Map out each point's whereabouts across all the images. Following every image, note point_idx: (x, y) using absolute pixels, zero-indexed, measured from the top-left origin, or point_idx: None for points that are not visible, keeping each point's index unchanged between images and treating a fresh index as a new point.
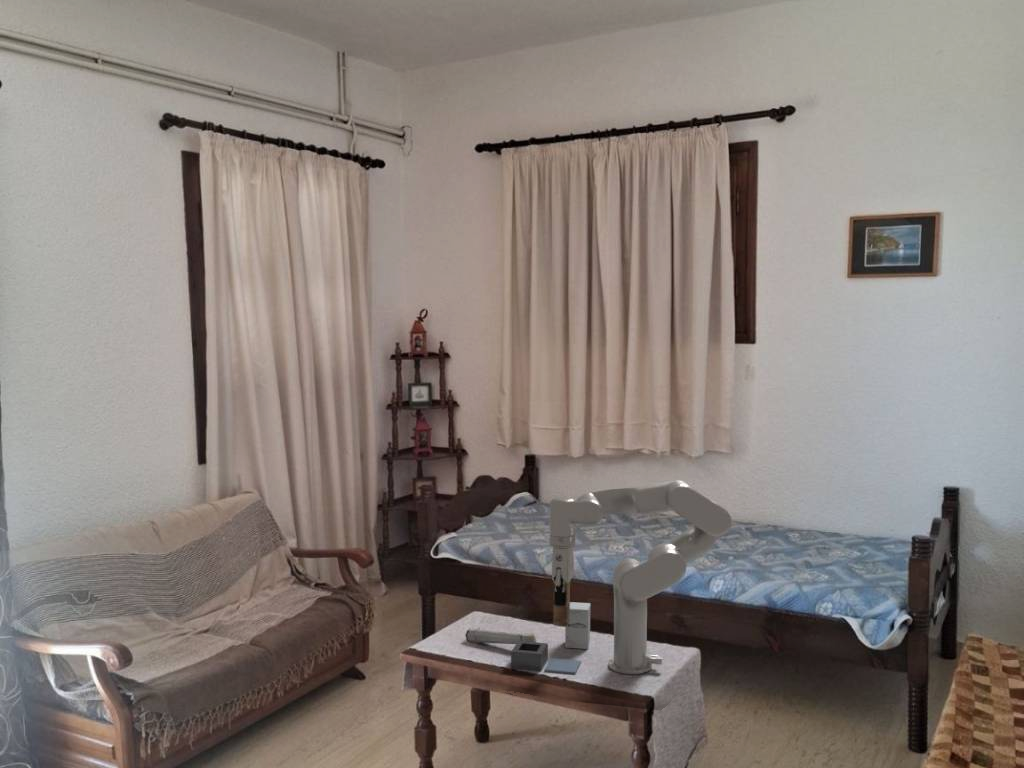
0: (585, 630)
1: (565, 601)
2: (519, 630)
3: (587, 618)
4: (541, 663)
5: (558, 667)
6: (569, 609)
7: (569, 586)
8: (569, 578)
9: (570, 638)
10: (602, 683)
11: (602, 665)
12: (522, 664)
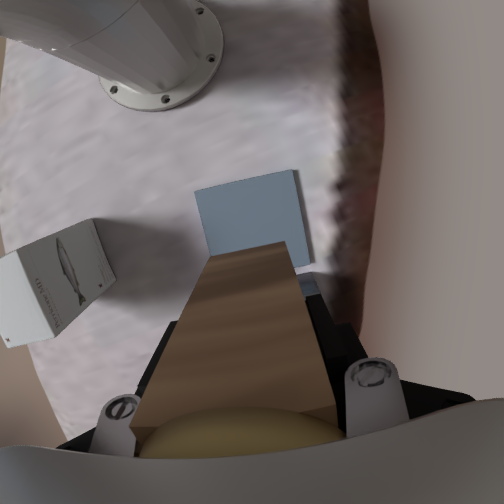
0: (65, 238)
1: (324, 305)
2: (94, 407)
3: (38, 243)
4: (311, 280)
5: (278, 233)
6: (203, 280)
7: (173, 385)
8: (457, 453)
9: (98, 276)
10: (318, 74)
11: (183, 123)
12: None
